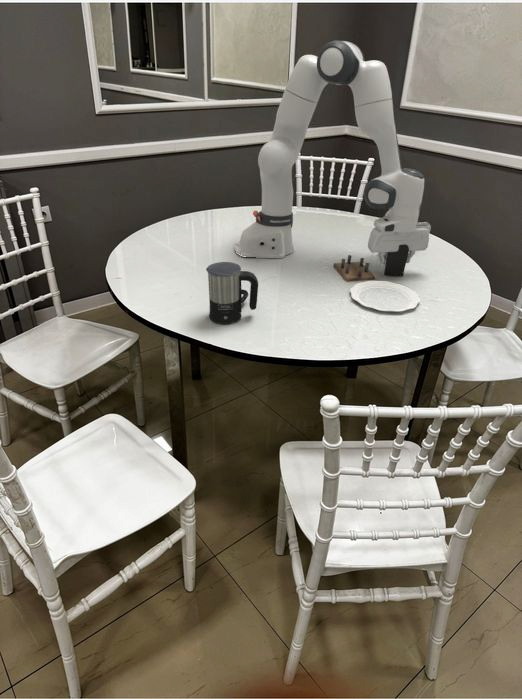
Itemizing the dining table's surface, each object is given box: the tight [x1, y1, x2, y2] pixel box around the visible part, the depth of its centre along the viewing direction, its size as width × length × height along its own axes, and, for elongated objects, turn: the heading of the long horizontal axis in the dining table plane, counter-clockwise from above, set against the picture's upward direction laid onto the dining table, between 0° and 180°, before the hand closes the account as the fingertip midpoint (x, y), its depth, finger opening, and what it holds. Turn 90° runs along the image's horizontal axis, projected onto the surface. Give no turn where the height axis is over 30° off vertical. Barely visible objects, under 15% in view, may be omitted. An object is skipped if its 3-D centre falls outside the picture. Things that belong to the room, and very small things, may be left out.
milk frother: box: [205, 261, 259, 325], centre depth 132 cm, size 14×16×15 cm
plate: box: [349, 280, 421, 313], centre depth 145 cm, size 21×21×2 cm
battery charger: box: [382, 244, 409, 277], centre depth 158 cm, size 7×4×11 cm, turn 88°
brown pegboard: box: [333, 254, 376, 283], centre depth 160 cm, size 10×13×4 cm
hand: (394, 263), depth 159 cm, fingers open, 7 cm apart
